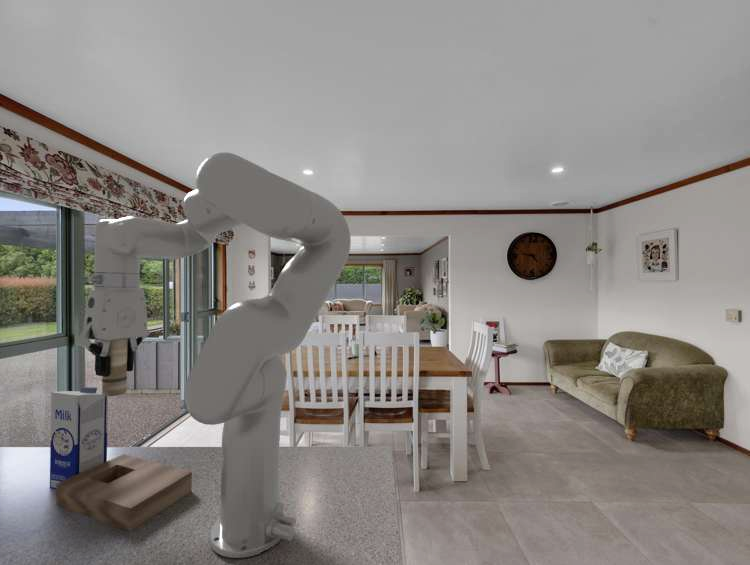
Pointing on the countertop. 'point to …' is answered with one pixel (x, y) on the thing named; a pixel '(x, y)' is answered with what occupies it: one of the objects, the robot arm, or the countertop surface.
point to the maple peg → (116, 369)
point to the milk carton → (77, 432)
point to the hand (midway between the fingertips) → (114, 372)
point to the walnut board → (124, 491)
